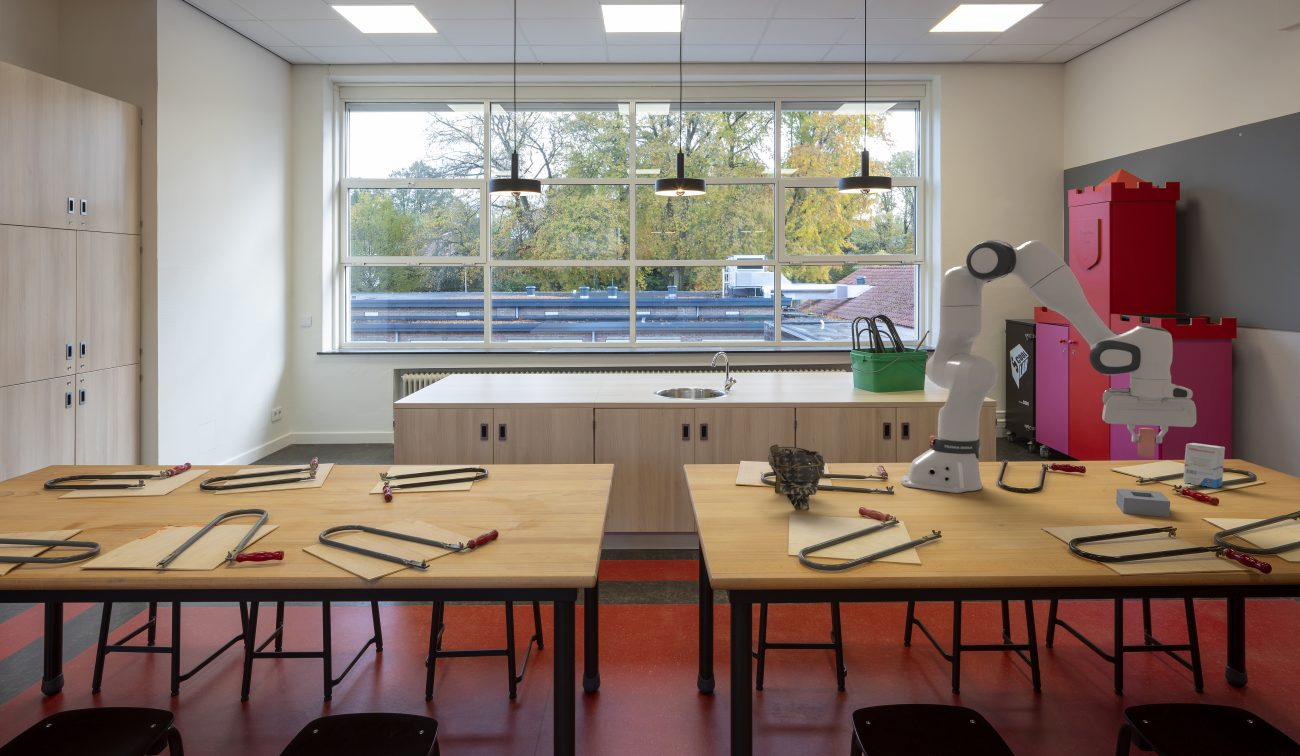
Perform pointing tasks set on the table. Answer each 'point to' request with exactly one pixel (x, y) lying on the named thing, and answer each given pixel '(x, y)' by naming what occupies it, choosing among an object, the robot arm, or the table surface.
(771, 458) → the checked fabric bag
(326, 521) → the table surface
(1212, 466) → the ink box
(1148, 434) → the peg
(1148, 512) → the socket
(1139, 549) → the table surface
